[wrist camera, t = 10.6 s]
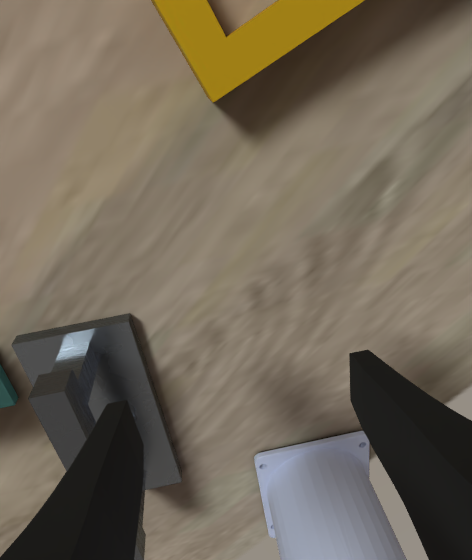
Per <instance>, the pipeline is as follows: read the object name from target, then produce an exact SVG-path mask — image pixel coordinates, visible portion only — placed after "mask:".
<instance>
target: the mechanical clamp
mask: <svg viewBox="0 0 472 560" xmlns="http://www.w3.org/2000/svg"><path fill="white" fill-rule="evenodd" d="M151 1H152V3H153V4H154V6H155V8H156V10H157V11H158V13H159V15H160V16H161V18H162V20H163V22H164V23H165V25H166V27H167V28H168V30H169V32H170V34H171V35H172V37H173V39H174V40H175V42H176V44H177V46H178V47H179V49H180V51H181V52H182V54H183V56H184V58H185V59H186V61H187V63H188V64H189V66H190V68H191V70H192V71H193V73H194V75H195V76H196V78H197V80H198V82H199V83H200V85H201V87H202V88H203V90H204V92H205V94H206V95H207V97H208V98H209V99H210V100H211V101H212V102H213V103H214V102H215V101H216V100H218V99H219V98H221V97H222V96H224V95H225V94H227V93H228V92H230V91H231V90H233V89H234V88H236V87H237V86H239V85H240V84H242V83H243V82H245V81H246V80H248V79H249V78H251V77H252V76H253V75H255V74H256V73H258V72H259V71H261V70H262V69H264V68H265V67H267V66H268V65H270V64H271V63H273V62H274V61H276V60H277V59H279V58H280V57H282V56H283V55H285V54H286V53H288V52H289V51H291V50H292V49H293V48H295V47H296V46H298V45H299V44H301V43H302V42H304V41H305V40H307V39H308V38H310V37H311V36H313V35H314V34H316V33H317V32H319V31H320V30H322V29H323V28H325V27H326V26H328V25H329V24H330V23H332V22H333V21H335V20H336V19H338V18H339V17H341V16H342V15H344V14H345V13H347V12H348V11H350V10H351V9H353V8H354V7H356V6H357V5H359V4H360V3H362V2H363V1H365V0H278V1H276V2H275V3H273V4H272V5H271V6H269V7H268V8H266V9H265V10H263V11H262V12H261V13H259V14H258V15H256V16H255V17H253V18H252V19H250V20H249V21H248V22H246V23H245V24H243V25H242V26H240V27H239V28H238V29H236V30H235V31H233V32H232V33H230V34H229V35H228V36H225V34H224V32H223V30H222V28H221V26H220V24H219V22H218V21H217V19H216V17H215V15H214V13H213V11H212V9H211V7H210V5H209V3H208V1H207V0H151Z"/></svg>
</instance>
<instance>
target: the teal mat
mask: <svg viewBox="0 0 472 560" xmlns="http://www.w3.org/2000/svg"><path fill="white" fill-rule="evenodd" d="M18 398H19V397H18V396H17V394H16V392H15V390H14V388H13V386H12V385H11V383H10V381H9V379H8V377H7V375H6V374H5V372H4V370H3V368H2V366H1V364H0V408H3V407H8V406H13V405H15V404H16V402H17V400H18Z"/></svg>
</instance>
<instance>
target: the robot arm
mask: <svg viewBox="0 0 472 560" xmlns="http://www.w3.org/2000/svg"><path fill="white" fill-rule="evenodd" d="M349 355H350V396H351V403H352V405H353V407H354V410H355V412H356V415H357V417H358V420H359V422H360V424H361V427H362V429H363V431H358V432H353V433H348V434H344V435H339V436H335V437H330V438H325V439H321V440H316V441H311V442H307V443H302V444H298V445H293V446H288V447H284V448H279V449H274V450H270V451H265V452H260V453H258V454H256V455H255V457H254V461H255V466H256V471H257V476H258V481H259V487H260V492H261V497H262V502H263V507H264V512H265V517H266V523H267V528H268V533H269V536H270V537H272V538H276V540H277V544H278V549H279V554H280V559H281V560H407V559H406V557H405V555H404V553H403V551H402V548H401V546H400V544H399V542H398V540H397V538H396V536H395V533H394V531H393V529H392V528H391V525H390V523H389V521H388V519H387V516H386V514H385V512H384V510H383V508H382V506H381V504H380V501H379V499H378V497H377V495H376V493H375V491H374V489H373V487H372V484H371V482H370V480H369V442H370V444H371V445H372V447H373V449H374V451H375V452H376V454H377V456H378V458H379V459H380V461H381V463H382V465H383V467H384V468H385V470H386V472H387V474H388V475H389V477H390V478H391V481H392V482H393V484H394V486H395V488H396V490H397V491H398V493H399V495H400V497H401V499H402V501H403V502H404V505H405V507H406V509H407V511H408V513H409V516H410V518H411V520H412V522H413V524H414V526H415V529H416V531H417V533H418V536H419V538H420V540H421V542H422V545H423V547H424V549H425V551H426V554H427V556H428V558H429V560H472V421H471V420H469V419H467V418H465V417H464V416H462V415H460V414H458V413H457V412H455V411H453V410H452V409H450V408H448V407H447V406H445V405H444V404H442V403H441V402H439V401H437V400H436V399H434V398H433V397H431V396H430V395H428V394H427V393H426V392H424V391H423V390H421V389H420V388H418V387H417V386H416V385H414V384H413V383H411V382H410V381H409V380H407V379H406V378H404V377H403V376H402V375H400V374H399V373H398V372H396V371H395V370H394V369H393V368H391V367H390V366H389V365H387V364H386V363H385V362H383V361H382V360H381V359H380V358H378V357H377V356H376V355H374V354H373V353H372V352H370V351H369V350H364V351H359V352H354V353H349ZM143 478H144V444H143V441H142V439H141V436H140V433H139V431H138V428H137V426H136V423H135V420H134V418H133V415H132V412H131V410H130V407H129V404H128V402H127V400H123V401H118V402H113V403H108V404H107V405H106V406H105V408H104V410H103V412H102V413H101V415H100V417H99V419H98V420H97V422H96V424H95V426H94V428H93V429H92V431H91V433H90V434H89V436H88V438H87V440H86V441H85V443H84V445H83V446H82V448H81V450H80V451H79V453H78V455H77V456H76V458H75V459H74V461H73V463H72V464H71V466H70V467H69V469H68V470H67V472H66V473H65V475H64V476H63V478H62V479H61V481H60V482H59V484H58V485H57V487H56V488H55V490H54V491H53V493H52V494H51V495H50V497H49V498H48V500H47V501H46V502H45V504H44V505H43V506H42V508H41V509H40V510H39V512H38V513H37V514H36V516H35V517H34V518H33V519H32V521H31V522H30V523H29V525H28V526H27V527H26V528H25V529H24V531H23V532H22V533H21V534H20V535H19V537H18V538H17V539H16V540H15V541H14V542H13V543H12V545H11V546H10V547H9V548H8V549H7V550H6V551H5V552H4V554H3V555H2V556H1V557H0V560H134V557H135V547H136V538H137V530H138V521H139V513H140V505H141V496H142V487H143Z"/></svg>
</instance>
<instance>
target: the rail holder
mask: <svg viewBox="0 0 472 560" xmlns="http://www.w3.org/2000/svg"><path fill="white" fill-rule="evenodd" d="M12 347H13V349H14V351H15V353H16V355H17V357H18V359H19V361H20V363H21V364H22V366H23V368H24V370H25V372H26V374H27V376H28V378H29V380H30V382H31V384H32V386H33V389H32V391H31V393H30V396H29V398H28V399H29V401H30V403H31V405H32V407H33V409H34V411H35V413H36V415H37V416H38V418H39V420H40V422H41V424H42V426H43V428H44V430H45V431H46V433H47V435H48V437H49V439H50V441H51V443H52V445H53V447H54V448H55V450H56V452H57V454H58V456H59V458H60V460H61V462H62V463H63V465H64V467H65V469H66V471H67V470H68V469H69V467H70V466H71V464H72V463H73V461H74V459H75V458H76V456H77V455H78V453H79V451H80V450H81V448H82V446H83V445H84V443H85V441H86V440H87V438H88V436H89V434H90V433H91V431H92V429H93V428H94V426H95V424H96V422H97V420H98V419H99V417H100V415H101V413H102V412H103V410H104V408H105V406H106V405H107V404H108V403H113V402H118V401H123V400H127V402H128V404H129V407H130V410H131V412H132V415H133V418H134V420H135V423H136V426H137V428H138V431H139V433H140V436H141V439H142V441H143V444H144V478H143V487H142V496H141V505H140V513H139V521H138V530H137V538H136V547H135V557H134V560H144V552H145V536H146V535H145V532H144V530H143V528H142V525H143V511H144V497H145V490H147V489H152V488H157V487H161V486H166V485H170V484H175V483H180V482H182V471H181V468H180V465H179V462H178V459H177V456H176V452H175V449H174V446H173V443H172V440H171V437H170V434H169V431H168V428H167V425H166V422H165V419H164V416H163V413H162V410H161V407H160V404H159V401H158V398H157V394H156V391H155V388H154V385H153V382H152V379H151V376H150V373H149V370H148V367H147V364H146V361H145V358H144V355H143V352H142V349H141V346H140V343H139V339H138V336H137V333H136V330H135V327H134V324H133V321H132V318H131V315H130V314H124V315H119V316H114V317H109V318H104V319H99V320H94V321H89V322H84V323H79V324H74V325H69V326H64V327H59V328H54V329H49V330H44V331H39V332H34V333H29V334H24V335H19V336H16V338H15V340H14V341H13V343H12Z"/></svg>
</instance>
